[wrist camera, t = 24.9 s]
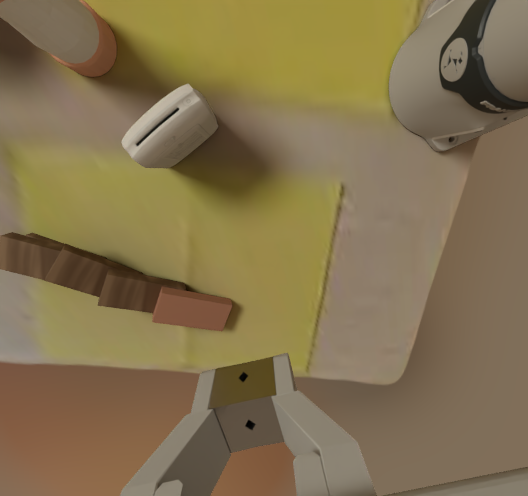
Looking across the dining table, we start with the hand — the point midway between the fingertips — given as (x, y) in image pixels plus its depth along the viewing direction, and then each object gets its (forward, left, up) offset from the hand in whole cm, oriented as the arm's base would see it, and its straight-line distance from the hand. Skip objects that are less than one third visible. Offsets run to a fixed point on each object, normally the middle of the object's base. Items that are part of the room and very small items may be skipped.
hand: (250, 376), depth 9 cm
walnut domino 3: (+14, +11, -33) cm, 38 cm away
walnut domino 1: (+25, +3, -32) cm, 41 cm away
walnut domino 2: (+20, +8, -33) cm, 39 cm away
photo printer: (+6, -12, -34) cm, 37 cm away
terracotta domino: (+7, +15, -33) cm, 37 cm away
